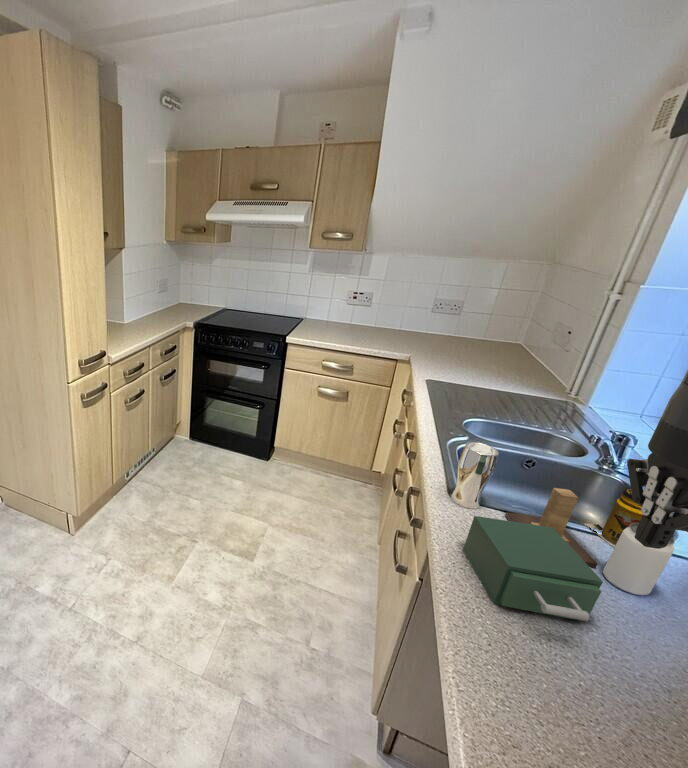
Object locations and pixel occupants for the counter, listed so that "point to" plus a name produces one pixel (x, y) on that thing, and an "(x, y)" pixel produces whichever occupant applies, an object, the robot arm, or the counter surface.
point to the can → (636, 563)
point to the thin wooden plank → (572, 541)
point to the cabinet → (521, 554)
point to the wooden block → (558, 510)
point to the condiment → (619, 518)
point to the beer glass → (474, 473)
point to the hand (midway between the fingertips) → (647, 543)
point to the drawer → (549, 595)
